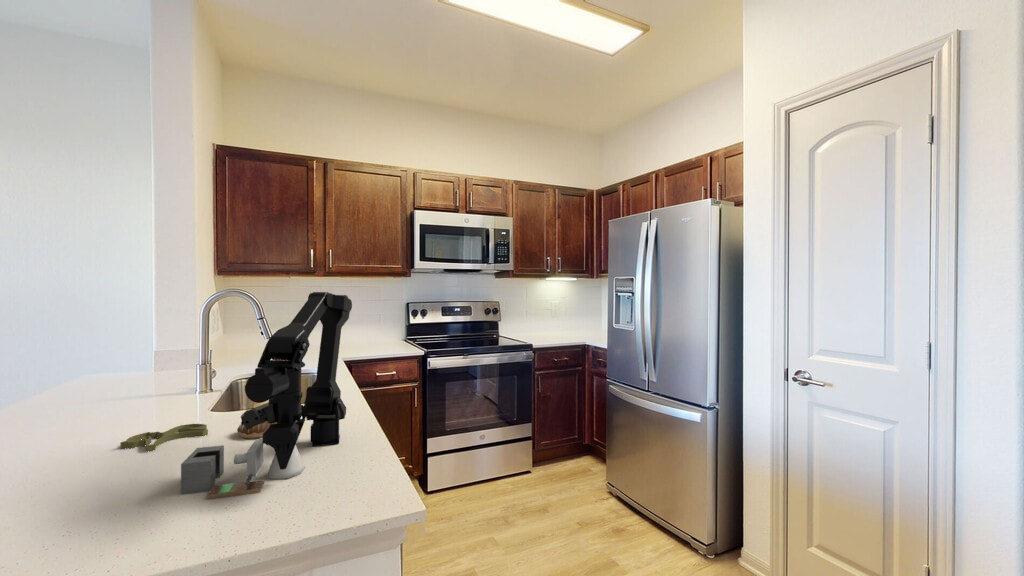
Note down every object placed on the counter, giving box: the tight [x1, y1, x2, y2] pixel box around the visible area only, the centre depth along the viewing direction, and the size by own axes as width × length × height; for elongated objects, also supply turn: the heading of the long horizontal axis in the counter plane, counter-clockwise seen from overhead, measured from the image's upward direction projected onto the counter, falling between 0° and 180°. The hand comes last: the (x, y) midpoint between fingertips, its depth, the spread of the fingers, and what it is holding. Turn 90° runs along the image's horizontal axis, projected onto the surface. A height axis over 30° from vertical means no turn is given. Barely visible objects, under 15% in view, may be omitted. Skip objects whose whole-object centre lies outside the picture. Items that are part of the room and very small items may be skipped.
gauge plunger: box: [233, 438, 265, 485], centre depth 91 cm, size 5×12×5 cm, turn 20°
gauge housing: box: [180, 445, 265, 500], centre depth 90 cm, size 14×13×6 cm
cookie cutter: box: [119, 423, 209, 453], centre depth 115 cm, size 18×12×2 cm, turn 154°
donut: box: [237, 421, 277, 439], centre depth 121 cm, size 11×11×4 cm
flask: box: [266, 444, 306, 480], centre depth 95 cm, size 7×7×10 cm
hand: (286, 461), depth 95 cm, fingers open, 8 cm apart
